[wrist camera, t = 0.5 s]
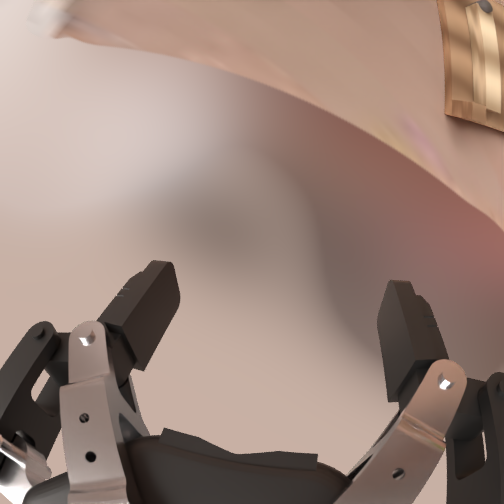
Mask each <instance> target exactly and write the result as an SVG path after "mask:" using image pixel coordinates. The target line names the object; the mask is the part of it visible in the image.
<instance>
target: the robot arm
mask: <svg viewBox="0 0 504 504" xmlns="http://www.w3.org/2000/svg"><path fill="white" fill-rule="evenodd" d="M179 303H180V291H179V287H178V283H177V278H176V274H175V269H174V265H173V264H172V263H171V262H166V261H156V260H153V261H151V262H150V264H149V265H148V266H147V267H146V268H145V270H144V271H143V272H139V273H138V274H136V275H135V276H133V277H132V278H130V279H129V280H128V282H127V283H126V284H125V285H124V286H123V289H121V290H120V291H119V293H118V294H117V296H116V297H115V298H114V299H113V300H112V302H111V303H110V304H109V305H108V307H107V308H106V309H105V310H104V312H103V313H102V314H101V316H100V317H99V318H98V319H97V321H87V322H83V323H81V324H80V325H78V326H77V327H75V328H74V330H73V331H72V332H71V333H57V332H56V330H55V328H54V327H53V325H52V324H51V323H50V322H47V321H43V322H39V323H37V324H35V325H34V326H32V327H31V328H30V329H29V330H28V332H27V333H26V334H25V336H24V337H23V338H22V340H21V341H20V343H19V344H18V345H17V347H16V348H15V349H14V351H13V352H12V354H11V355H10V356H9V358H8V359H7V361H6V362H5V364H4V365H3V367H2V368H1V370H0V491H1V492H2V493H3V494H4V495H5V496H6V497H7V498H8V499H9V500H10V501H12V502H13V503H14V504H412V503H413V502H414V500H415V499H416V497H417V496H418V494H419V493H420V492H421V490H422V488H423V487H424V485H425V484H426V482H427V480H428V479H429V477H430V476H431V474H432V472H433V471H434V469H435V467H436V465H437V464H438V462H439V460H440V458H441V456H442V455H443V452H444V450H445V448H446V456H447V502H446V504H504V373H501V372H497V373H494V374H492V375H491V376H490V377H489V379H488V380H487V381H486V382H484V381H480V380H475V379H471V378H467V377H466V374H465V372H464V370H463V369H462V368H461V367H460V366H459V365H458V364H457V363H455V362H453V361H451V360H449V357H448V354H447V351H446V348H445V345H444V342H443V339H442V337H441V334H440V331H439V328H438V327H437V323H436V320H435V318H434V315H433V312H432V310H431V307H430V305H429V304H428V303H427V302H426V301H425V299H424V298H423V297H422V296H418V295H416V294H415V292H414V289H413V287H412V284H411V282H409V281H399V280H390V281H389V283H388V285H387V288H386V291H385V294H384V298H383V301H382V304H381V307H380V310H379V313H378V321H377V326H378V327H377V328H378V333H379V339H380V345H381V352H382V358H383V365H384V372H385V380H386V388H387V398H388V402H399V410H398V411H397V412H396V414H395V415H394V417H393V418H392V420H391V421H390V423H389V424H388V426H387V427H386V428H385V430H384V431H383V433H382V434H381V435H380V436H379V438H378V439H377V441H376V442H375V443H374V444H373V446H372V447H371V448H370V449H369V451H368V452H367V453H366V454H365V455H364V456H363V457H362V458H361V460H360V461H359V462H358V463H357V464H356V465H355V466H354V467H353V468H352V470H350V471H349V473H348V474H347V475H344V474H343V473H341V472H340V471H338V470H336V469H335V468H333V467H330V466H328V465H326V464H323V463H320V462H317V457H318V454H309V453H294V452H282V451H275V452H264V453H252V454H234V453H231V452H229V451H226V450H224V449H222V448H220V447H218V446H215V445H213V444H211V443H209V442H207V441H205V440H203V439H201V438H199V437H196V436H192V435H188V434H184V433H181V432H177V431H174V430H170V429H167V428H164V429H163V431H162V434H161V435H154V436H153V435H152V436H150V434H149V431H148V429H147V427H146V426H145V424H144V422H143V420H142V417H141V413H140V410H139V406H138V403H137V399H136V394H135V390H134V386H133V382H132V378H131V376H130V372H131V370H132V369H133V368H134V369H138V370H141V371H144V370H145V368H146V366H147V364H148V363H149V360H150V359H151V357H152V355H153V353H154V351H155V349H156V348H157V346H158V344H159V342H160V340H161V338H162V337H163V335H164V333H165V331H166V329H167V327H168V326H169V324H170V322H171V320H172V318H173V317H174V315H175V313H176V311H177V309H178V307H179ZM43 369H45V370H46V372H47V373H48V374H49V375H50V377H49V379H48V381H47V382H46V384H45V386H44V388H43V389H42V391H41V393H40V394H39V396H38V398H37V400H36V401H35V402H34V400H33V399H32V396H31V390H32V387H33V386H34V384H35V382H36V381H37V379H38V377H39V376H40V374H41V373H42V371H43ZM61 428H62V437H63V446H64V453H65V459H66V466H67V472H65V473H63V474H60V475H58V476H56V477H53V478H51V479H49V478H50V477H51V473H52V472H51V469H50V468H49V467H48V466H47V463H46V460H47V458H48V456H49V453H50V451H51V449H52V447H53V444H54V442H55V440H56V438H57V436H58V434H59V432H60V430H61ZM482 432H484V434H485V442H486V450H487V459H486V462H485V455H484V445H483V437H482ZM444 437H445V440H446V442H444V441H443V439H444ZM45 479H49V480H46V481H45Z"/></svg>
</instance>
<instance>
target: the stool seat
mask: <svg viewBox="0 0 504 504" xmlns="http://www.w3.org/2000/svg"><path fill="white" fill-rule="evenodd" d="M477 1H479V0H437V4H438V10H439V16H440V23H441V31H442V40H443V51H444V67H445V114H446V115H450V116H454V117H458V118H461V119H465V120H468V121H472V122H475V123H478V124H481V125H484V126H487V127H490V128H493V129H496V130H499V131H502V132H504V6H502V5H501V4H499V3H497V2H495V1H493V0H487V1H488V2H489V3H490V4H491V5H492V8H493V11H492V13H493V18H494V23H495V29H496V35H497V43H498V51H499V61H500V76H501V114H500V113H495V112H490V111H486V106H483V105H480V104H477V103H474V85H473V62H472V50H471V40H470V32H469V25H468V19H467V14H466V8H465V7H467V6H468V5H470V4H472V3H474V2H477Z"/></svg>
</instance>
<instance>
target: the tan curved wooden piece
mask: <svg viewBox="0 0 504 504" xmlns="http://www.w3.org/2000/svg"><path fill="white" fill-rule="evenodd" d="M465 8H466V14H467V19H468V25H469V32H470V40H471V50H472V62H473V85H474V103H477V104H480V105H483V106H486V111H490V112H495V113H500V114H501V76H500V61H499V51H498V43H497V35H496V29H495V23H494V18H493V13H492V11H493V8H492V5H491V4H490V3H489V2H488V1H487V0H479V1H477V2H474V3H472V4H470V5H468V6H467V7H465Z"/></svg>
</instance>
